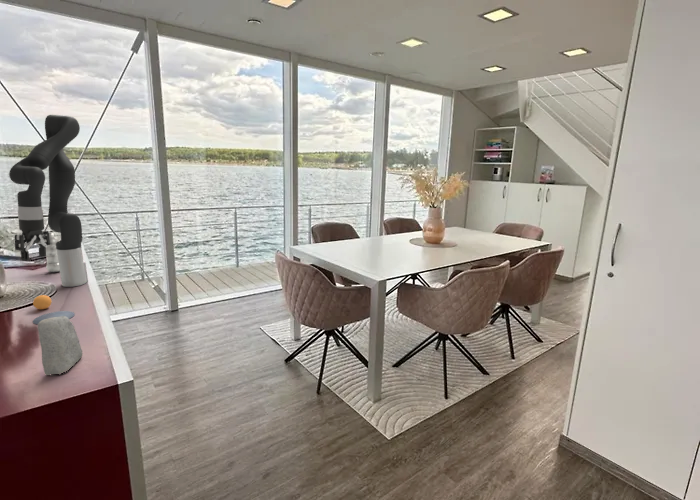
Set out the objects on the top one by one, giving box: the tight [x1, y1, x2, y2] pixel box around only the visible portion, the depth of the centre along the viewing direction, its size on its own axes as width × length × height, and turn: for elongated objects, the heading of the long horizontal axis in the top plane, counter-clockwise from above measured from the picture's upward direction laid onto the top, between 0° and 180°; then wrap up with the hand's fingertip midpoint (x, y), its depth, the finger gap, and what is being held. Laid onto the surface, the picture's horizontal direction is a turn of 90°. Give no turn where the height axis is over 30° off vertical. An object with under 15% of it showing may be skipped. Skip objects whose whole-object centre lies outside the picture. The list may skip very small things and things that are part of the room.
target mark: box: [32, 310, 76, 325], centre depth 136 cm, size 12×12×1 cm
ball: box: [32, 294, 53, 310], centre depth 143 cm, size 6×6×6 cm
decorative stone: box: [37, 316, 83, 376], centre depth 103 cm, size 11×6×15 cm, turn 5°
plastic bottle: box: [45, 232, 60, 273], centre depth 188 cm, size 6×7×20 cm
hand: (34, 258), depth 149 cm, fingers open, 8 cm apart
